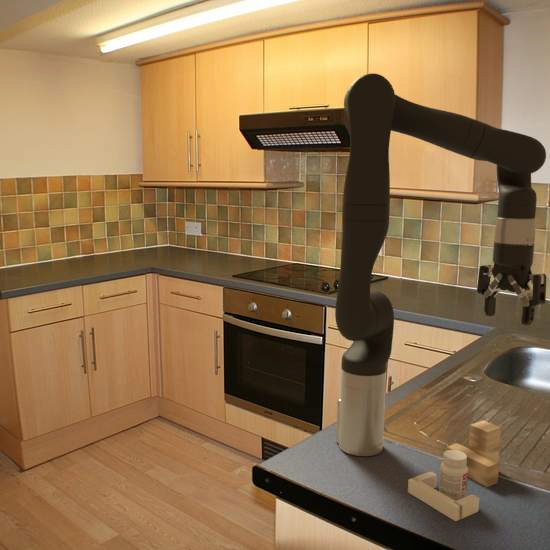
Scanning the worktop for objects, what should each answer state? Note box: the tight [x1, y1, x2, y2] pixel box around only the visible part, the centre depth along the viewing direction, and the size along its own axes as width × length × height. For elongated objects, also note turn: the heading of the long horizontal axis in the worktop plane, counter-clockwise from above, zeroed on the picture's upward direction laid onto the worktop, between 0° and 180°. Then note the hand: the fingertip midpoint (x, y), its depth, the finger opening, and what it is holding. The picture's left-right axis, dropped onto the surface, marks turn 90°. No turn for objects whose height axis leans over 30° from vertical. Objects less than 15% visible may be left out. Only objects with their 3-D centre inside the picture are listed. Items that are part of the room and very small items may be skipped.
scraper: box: [445, 420, 502, 488], centre depth 117 cm, size 10×7×9 cm
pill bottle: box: [438, 450, 469, 501], centre depth 107 cm, size 5×5×8 cm
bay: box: [407, 471, 480, 522], centre depth 107 cm, size 11×6×2 cm, turn 33°
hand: (507, 320), depth 123 cm, fingers open, 8 cm apart
